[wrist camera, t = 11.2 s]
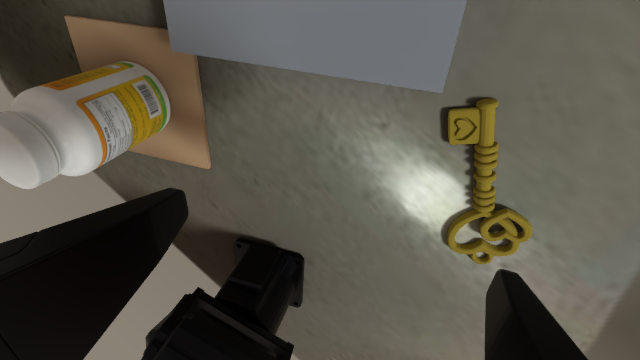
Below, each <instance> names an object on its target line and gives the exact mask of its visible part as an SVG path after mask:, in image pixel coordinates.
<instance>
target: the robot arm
mask: <svg viewBox="0 0 640 360" xmlns="http://www.w3.org/2000/svg"><path fill="white" fill-rule="evenodd" d="M187 217H188V206H187V201H186V196H185V193H184V191H182V190H180V189H175V188H167V189H164V190H161V191H158V192H155V193H152V194H149V195H146V196H143V197H140V198H137V199H134V200H131V201H128V202H125V203H122V204H119V205H116V206H113V207H110V208H107V209H104V210H101V211H98V212H95V213H92V214H89V215H86V216H83V217H80V218H77V219H74V220H71V221H68V222H65V223H62V224H58V225H56V226H52V227H49V228H46V229H43V230H41V231H39V232H34V233H32V234H28V235H25V236H23V237H19V238H16V239H13V240H10V241H6V242H3V243H0V360H83V359H84V358H85V356H86V355H87V354H88V353H89V351H90V350H91V349H92V348H93V346H94V345H95V344H96V342H97V341H98V339H100V337H101V336H102V335H103V333H104V332H105V331H106V330H107V328H108V327H109V326H110V324H111V323H112V322H113V321H114V319H115V318H116V317H117V315H118V314H119V313H120V311H121V310H122V309H123V308H124V307H125V305H126V304H127V302H128V301H129V300H130V299H131V298H132V296H133V295H134V293H135V292H136V291H137V290H138V288H139V287H140V286H141V285H142V283H143V282H144V281H145V280H146V278H147V277H148V276H149V274H150V273H151V272H152V271H153V269H154V268H155V267H156V266H157V264H158V263H159V261H160V260H161V259H162V257H163V256H164V254H165V253H166V251H167V250H168V248H169V246H170V245H171V243H172V242H173V240H174V239H175V237H176V235H177V234H178V232H179V231H180V229H181V227H182V226H183V224H184V223H185V221H186V219H187ZM234 251H235V261H236V268H235V269H234V270H233V272H232V273H231V275H230V276H229V278H228V279H227V281H226V282H225V283H224V285H223V286H222V288H221V289H220V291H219V292H218V293H217V295H216V296H215V298H213V297H211V296H210V295H208V294H206V293H205V292H204V290H202V289H201V288H199V287H198V288H197V289H196V290H195V291H194V293H192V294H185V295H184V296H183V298H182V299H181V300H180V302H179V303H178V304H177V305H176V306H175V308H174V309H173V310H172V311H171V312H170V313H169V314H168V315H167V316H166V317H165V318H164V319H163V320H162V321H161V322H159V324H157V325H156V326H155V327H154V328H153V329H152V330H151V331H150V332H149V333H148V335H147V336H146V350H145V351H144V354H143V355H144V356H143V357H142V359H141V360H290V358H291V355H292V351H293V348H294V345H293V344H291V343H289V342H285V341H284V340H282V339H280V338H279V337H277V336H275V334H276V332H277V330H278V328H279V326H280V324H281V321H282V319H283V317H284V315H285V313H286V311H287V308H288V306H289V305H290V306H293V307H297V308H298V307H300V306H301V304H302V297H303V279H304V258H303V257H302V256H300V255H298V254H294V253H290V252H287V251H283V250H280V249H276V248H272V247H269V246H265V245H262V244H258V243H255V242H251V241H247V240H244V239H237V240H236V241H235V242H234ZM297 260H298V261H297ZM485 360H588V359H587V358H586V357H585V355H584V354H583V353H582V352H581V350H580V349H579V348H578V347H577V345H576V344H575V343H574V342H573V341H572V339H571V338H570V337H569V336H568V334H567V333H566V332H565V331H564V330H563V328H562V327H561V326H560V325H559V323H558V322H557V321H556V320H555V318H554V317H553V316H552V315H551V314H550V312H549V311H548V310H547V309H546V307H545V306H544V305H543V304H542V303H541V301H540V300H539V299H538V298H537V296H536V295H535V294H534V293H533V291H532V290H531V289H530V288H529V287H528V285H527V284H526V283H525V282H524V280H523V279H522V278H521V277H520V276H519V275H518V274H517V273H515V272H512V271H508V270H504V269H500V270H498V271H497V272H496V274H495V276H494V278H493V280H492V282H491V284H490V286H489V289H488V291H487V295H486V315H485Z"/></svg>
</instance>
